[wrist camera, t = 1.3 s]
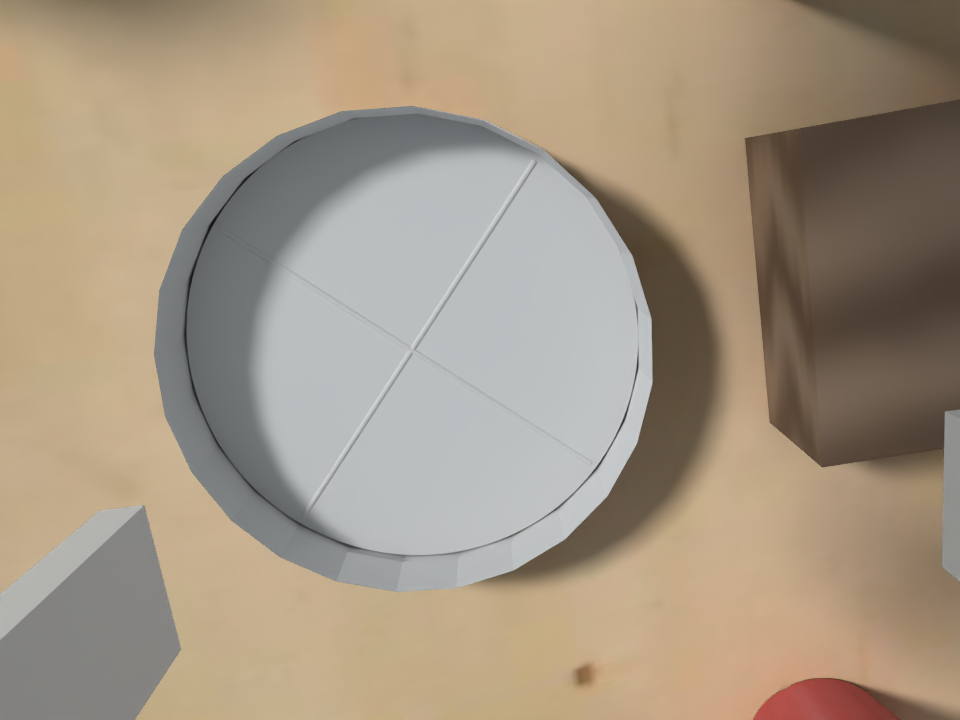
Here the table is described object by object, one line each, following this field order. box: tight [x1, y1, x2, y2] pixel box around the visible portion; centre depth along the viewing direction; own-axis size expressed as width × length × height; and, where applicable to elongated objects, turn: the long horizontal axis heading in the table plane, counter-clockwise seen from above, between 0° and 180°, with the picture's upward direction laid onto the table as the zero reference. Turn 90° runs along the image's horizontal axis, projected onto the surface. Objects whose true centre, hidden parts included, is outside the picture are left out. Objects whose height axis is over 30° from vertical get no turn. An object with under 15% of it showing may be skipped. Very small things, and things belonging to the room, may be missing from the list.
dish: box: [154, 106, 653, 592], centre depth 34 cm, size 22×22×5 cm
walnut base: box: [745, 100, 960, 467], centre depth 32 cm, size 14×14×6 cm
